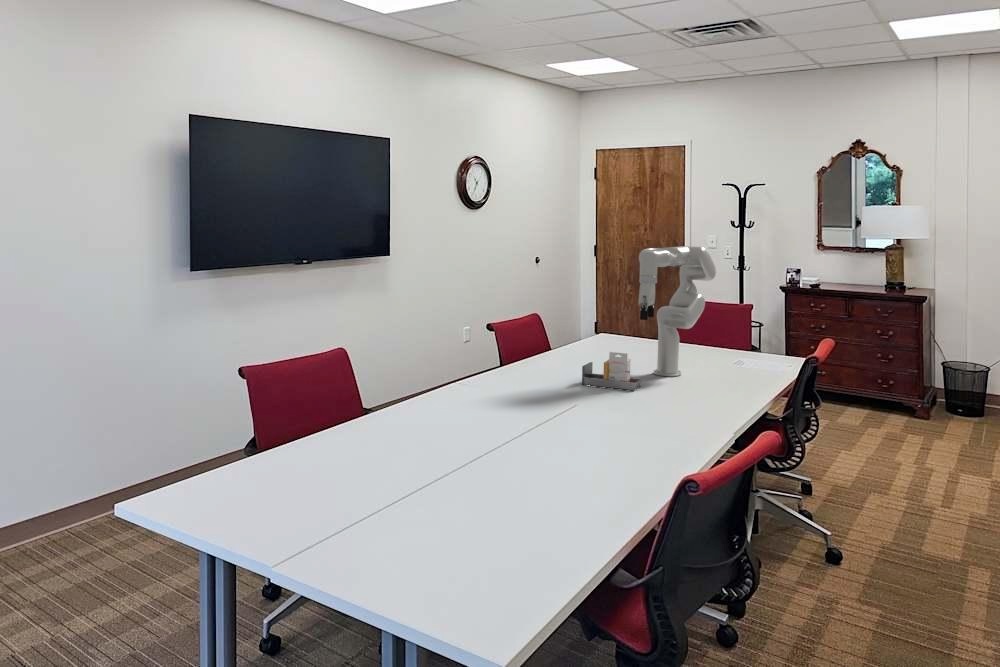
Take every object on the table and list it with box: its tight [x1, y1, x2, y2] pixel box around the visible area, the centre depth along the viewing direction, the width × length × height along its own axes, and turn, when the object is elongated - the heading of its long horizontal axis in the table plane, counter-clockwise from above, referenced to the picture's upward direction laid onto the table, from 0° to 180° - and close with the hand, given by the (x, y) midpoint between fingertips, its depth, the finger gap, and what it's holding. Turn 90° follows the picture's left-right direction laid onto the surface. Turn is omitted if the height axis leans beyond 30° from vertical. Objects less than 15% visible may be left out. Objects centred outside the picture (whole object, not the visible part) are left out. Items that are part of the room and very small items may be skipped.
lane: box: [581, 361, 641, 392], centre depth 321 cm, size 10×23×8 cm, turn 63°
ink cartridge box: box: [608, 351, 631, 382], centre depth 319 cm, size 9×5×15 cm, turn 64°
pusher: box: [603, 359, 609, 380], centre depth 322 cm, size 7×2×10 cm, turn 153°
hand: (646, 318), depth 326 cm, fingers open, 9 cm apart
